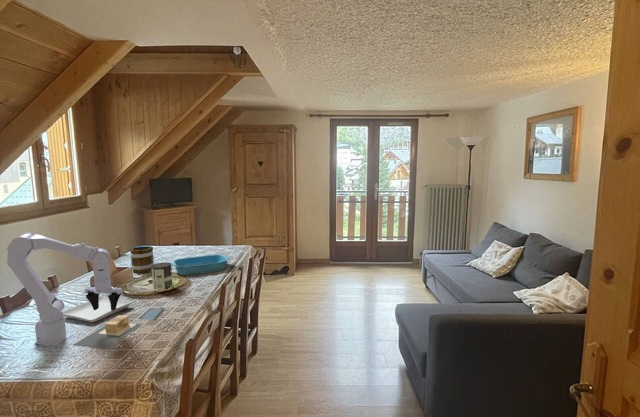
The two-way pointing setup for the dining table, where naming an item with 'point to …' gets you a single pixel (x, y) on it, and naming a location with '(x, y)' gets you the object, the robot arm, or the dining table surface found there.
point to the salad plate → (90, 315)
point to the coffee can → (162, 276)
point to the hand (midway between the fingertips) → (104, 309)
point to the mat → (105, 337)
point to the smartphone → (152, 314)
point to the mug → (142, 259)
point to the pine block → (117, 324)
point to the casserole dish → (200, 264)
